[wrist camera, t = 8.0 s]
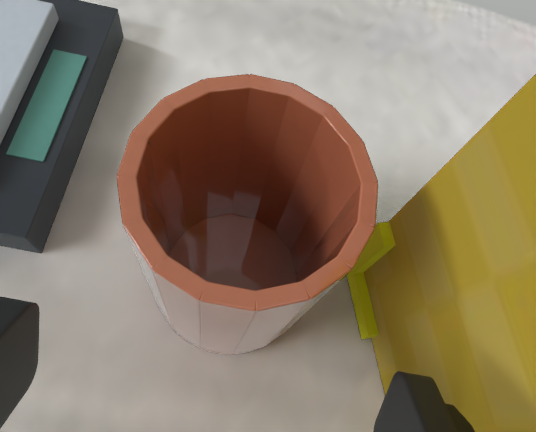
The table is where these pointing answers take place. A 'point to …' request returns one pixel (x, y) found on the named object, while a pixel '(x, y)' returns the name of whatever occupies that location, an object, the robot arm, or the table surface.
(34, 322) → the robot arm
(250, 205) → the cup
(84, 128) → the scale
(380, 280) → the book
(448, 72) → the table surface
